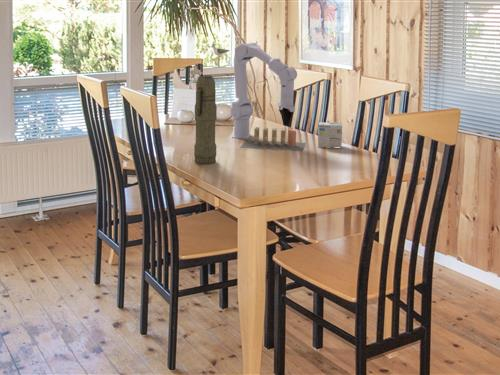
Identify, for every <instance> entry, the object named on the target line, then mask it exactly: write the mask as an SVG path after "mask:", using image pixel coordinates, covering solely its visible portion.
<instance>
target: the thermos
mask: <svg viewBox="0 0 500 375" xmlns="http://www.w3.org/2000/svg"><path fill="white" fill-rule="evenodd" d="M195 85H196V86H195V88H196V89H195V91H196V92H195V103H194V121H195V143H194V145H193V146H194V149H193V151H194V152H193V154H194V155H193V156H194V162H195V164H199V165H212V164H216V162H217V160H216V159H217V158H216V157H217V143H216V121H217V113H218V112H217V110H218V109H217V107H218V106H217V102H216V91H217V90H216V82H215V77H213V76H212V75H208V74H207V75H206V74H205V75H204V74H203V75H199V76H198V77H197V80H196V84H195Z"/></svg>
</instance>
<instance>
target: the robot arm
mask: <svg viewBox="0 0 500 375" xmlns="http://www.w3.org/2000/svg"><path fill="white" fill-rule="evenodd" d="M253 58H257V59H258V60H260V61H261V62H263V63H265V64H266V65H268V69H269V70H270V71H272V72H273V73H274V74H275V75H277V76H278V79H279V81H280V98H279V99H280V102H279V101H278V105H277V107H278V108H281V109H279V110H278V111H279V113H280V115H281V121H282V126H289V125H290V122H291V118H292V116H293V114H294V113H295V112H296V107H295V106H294V94H295V93H294V92H295V91H294V90H295V89H294V88H295V80H296V79H297V77H298V72H297V70H296V69H295V67H293V66H290V67H289V65H288V64H286V63H284V62H282V61H281V59H280V58H273V57H272V56H271V55H269V54H268V53H267V52H265V50H263V49H262V47H261V45H258V44H257V42H250V43H238V45H236V47H235V48H234V57H233V69H234V70H233V71H234V73H233V74H234V89H235V99H234V100H233V101H232V103H231V108H230V114H231V116H232V117H233V118H232V119H234V120H233V135H232V137H231V138H232V139H245V140H250V137H251V136H252V134H251V133H250V123H251V122H250V119H251V116H252V115H253V113H254V108H253V105H252V101H251V100H250V98H248V82H247V79H248V78H247V77H248V76H247V64H248V62H249V61H250V60H251V59H253Z"/></svg>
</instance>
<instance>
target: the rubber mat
mask: <svg viewBox="0 0 500 375" xmlns="http://www.w3.org/2000/svg"><path fill="white" fill-rule="evenodd" d="M306 145H307V144H306V142H300V141H299V142H298V141H296V146H290V145H288V141H285V145H284V146H281V140H279V141H278V140H276V145H275V146H273V145H272V140H268V143H267V145H263V140H260V139H259V143H258V145H254V139H245V140H244V142H243V143H242V144H241V146H240V147H239V148H240V149H253V150H254V149H255V150H270V151H271V150H274V151H290V152H292V151H294V152H304V150H305V146H306Z"/></svg>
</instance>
